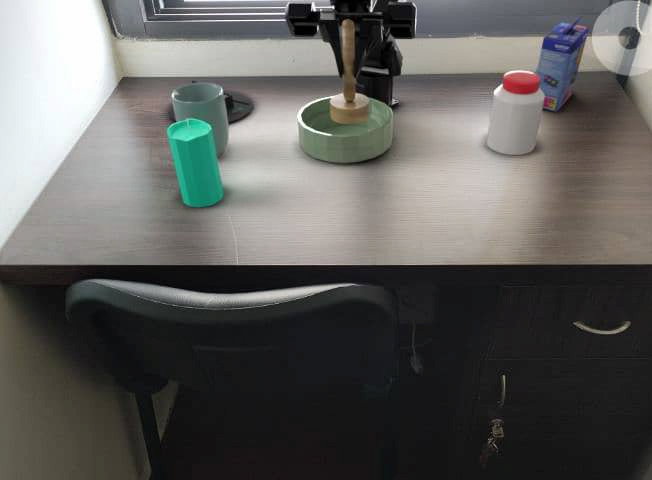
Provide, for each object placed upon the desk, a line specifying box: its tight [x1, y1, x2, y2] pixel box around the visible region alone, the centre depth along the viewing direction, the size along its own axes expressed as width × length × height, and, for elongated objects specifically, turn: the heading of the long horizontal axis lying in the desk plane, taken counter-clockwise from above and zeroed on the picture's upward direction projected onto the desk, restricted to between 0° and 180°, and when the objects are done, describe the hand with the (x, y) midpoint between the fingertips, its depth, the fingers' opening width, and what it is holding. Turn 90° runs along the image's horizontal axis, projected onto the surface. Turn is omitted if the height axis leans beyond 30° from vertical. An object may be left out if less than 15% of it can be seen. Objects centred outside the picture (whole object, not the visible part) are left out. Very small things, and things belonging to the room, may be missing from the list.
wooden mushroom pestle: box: [330, 19, 369, 124], centre depth 88 cm, size 6×6×14 cm
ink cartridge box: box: [535, 15, 590, 113], centre depth 106 cm, size 10×6×14 cm, turn 148°
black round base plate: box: [169, 80, 254, 125], centre depth 109 cm, size 15×15×6 cm
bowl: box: [296, 95, 394, 164], centre depth 98 cm, size 15×15×5 cm
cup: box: [171, 82, 230, 157], centre depth 95 cm, size 8×8×10 cm
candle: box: [166, 118, 225, 208], centre depth 84 cm, size 6×6×12 cm
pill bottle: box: [486, 69, 545, 156], centre depth 95 cm, size 8×8×11 cm
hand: (347, 77), depth 88 cm, fingers closed on wooden mushroom pestle
